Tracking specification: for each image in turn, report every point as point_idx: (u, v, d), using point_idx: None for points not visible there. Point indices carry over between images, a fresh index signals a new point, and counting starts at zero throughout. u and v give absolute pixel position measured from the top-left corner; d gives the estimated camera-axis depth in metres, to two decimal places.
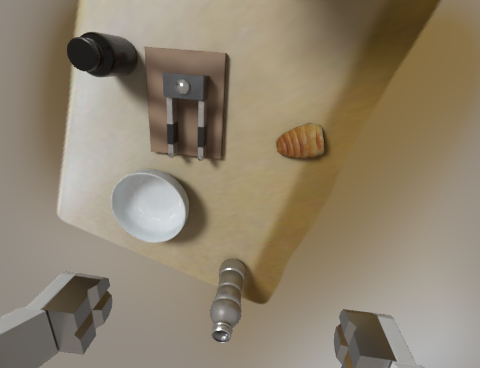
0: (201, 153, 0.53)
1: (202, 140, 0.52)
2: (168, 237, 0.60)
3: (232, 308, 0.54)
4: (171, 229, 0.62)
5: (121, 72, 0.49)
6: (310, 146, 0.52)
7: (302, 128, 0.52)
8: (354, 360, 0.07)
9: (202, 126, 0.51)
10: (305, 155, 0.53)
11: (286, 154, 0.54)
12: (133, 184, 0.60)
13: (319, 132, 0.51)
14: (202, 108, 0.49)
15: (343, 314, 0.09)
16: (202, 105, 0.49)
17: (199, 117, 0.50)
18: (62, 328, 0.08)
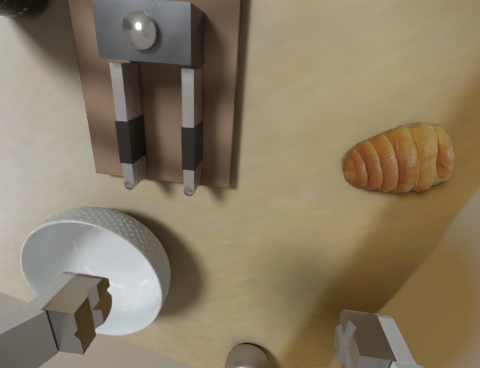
0: (190, 182, 0.26)
1: (192, 156, 0.24)
2: (133, 327, 0.33)
3: None
4: (141, 307, 0.35)
5: (2, 2, 0.21)
6: (424, 172, 0.24)
7: (404, 133, 0.24)
8: (354, 360, 0.07)
9: (191, 126, 0.23)
10: (407, 189, 0.25)
11: (364, 185, 0.27)
12: (70, 230, 0.33)
13: (447, 142, 0.23)
14: (190, 86, 0.22)
15: (343, 314, 0.09)
16: (190, 79, 0.22)
17: (184, 106, 0.23)
18: (62, 328, 0.08)
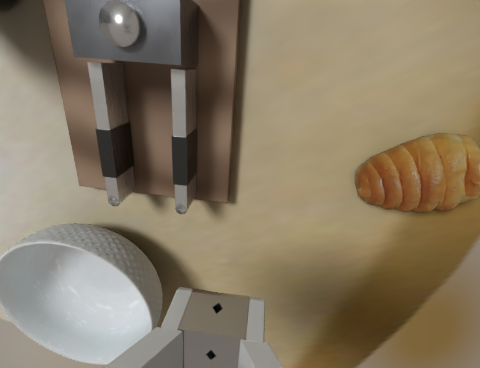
0: (183, 198, 0.22)
1: (184, 169, 0.21)
2: None
3: None
4: (131, 332, 0.32)
5: None
6: (450, 190, 0.21)
7: (427, 146, 0.21)
8: None
9: (183, 135, 0.20)
10: (431, 208, 0.22)
11: (381, 203, 0.24)
12: (52, 248, 0.30)
13: (477, 156, 0.20)
14: (181, 89, 0.19)
15: None
16: (181, 81, 0.19)
17: (175, 113, 0.20)
18: (195, 348, 0.08)
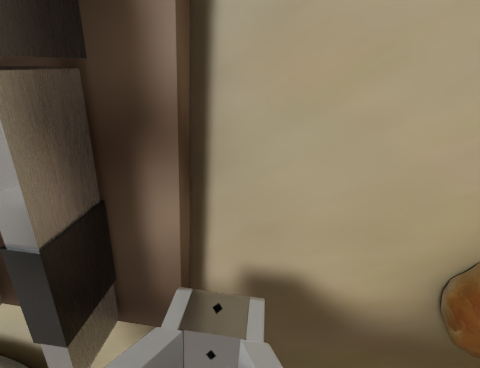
0: (64, 366, 0.10)
1: (51, 318, 0.09)
2: None
3: None
4: None
5: None
6: None
7: None
8: None
9: (31, 248, 0.07)
10: None
11: None
12: None
13: None
14: None
15: None
16: None
17: None
18: (195, 348, 0.08)
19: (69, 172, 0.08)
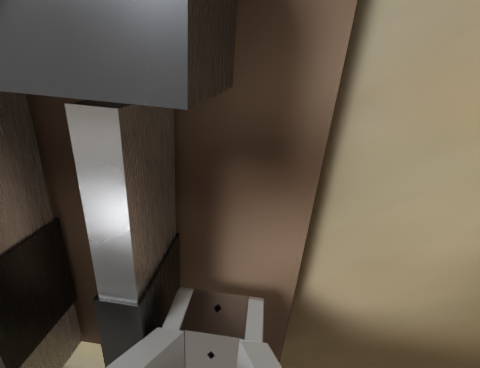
0: None
1: None
2: None
3: None
4: None
5: None
6: None
7: None
8: None
9: (129, 299, 0.07)
10: None
11: None
12: None
13: None
14: (112, 174, 0.05)
15: None
16: (109, 148, 0.05)
17: (97, 241, 0.06)
18: (196, 348, 0.08)
19: (160, 209, 0.08)
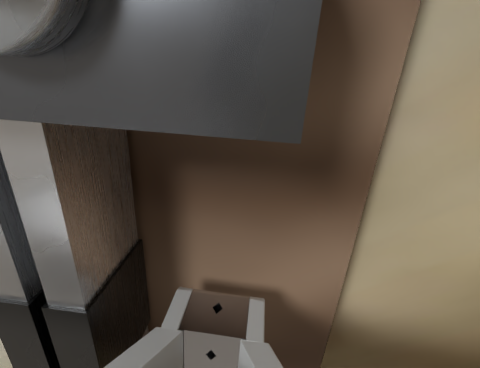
0: None
1: None
2: None
3: None
4: None
5: None
6: None
7: None
8: None
9: (77, 306, 0.07)
10: None
11: None
12: None
13: None
14: (45, 186, 0.05)
15: None
16: (38, 161, 0.05)
17: (39, 250, 0.06)
18: (195, 348, 0.08)
19: (113, 216, 0.08)
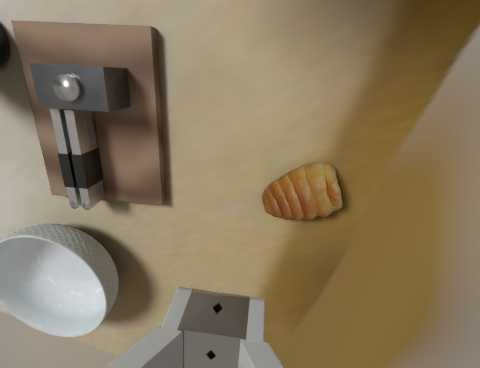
0: (86, 198, 0.31)
1: (83, 177, 0.30)
2: (86, 329, 0.37)
3: None
4: (96, 312, 0.40)
5: None
6: (319, 203, 0.30)
7: (300, 173, 0.31)
8: None
9: (79, 153, 0.29)
10: (312, 216, 0.31)
11: (280, 216, 0.33)
12: (32, 244, 0.38)
13: (331, 178, 0.29)
14: (73, 123, 0.28)
15: None
16: (72, 118, 0.28)
17: (71, 138, 0.29)
18: (195, 348, 0.08)
19: (88, 136, 0.30)
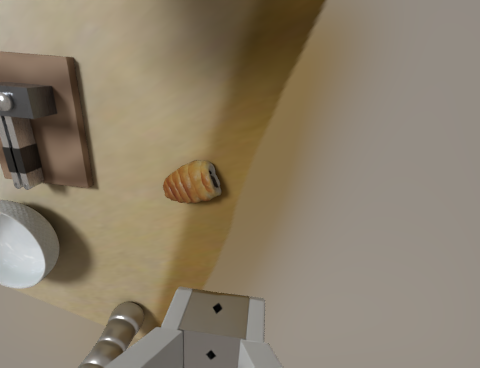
0: (26, 180, 0.42)
1: (22, 165, 0.41)
2: (33, 282, 0.49)
3: None
4: (43, 271, 0.51)
5: None
6: (197, 190, 0.41)
7: (185, 168, 0.41)
8: None
9: (17, 147, 0.40)
10: (195, 200, 0.42)
11: (175, 200, 0.44)
12: None
13: (204, 172, 0.40)
14: (11, 125, 0.39)
15: None
16: (10, 121, 0.38)
17: (11, 136, 0.39)
18: (195, 348, 0.08)
19: (26, 134, 0.41)
